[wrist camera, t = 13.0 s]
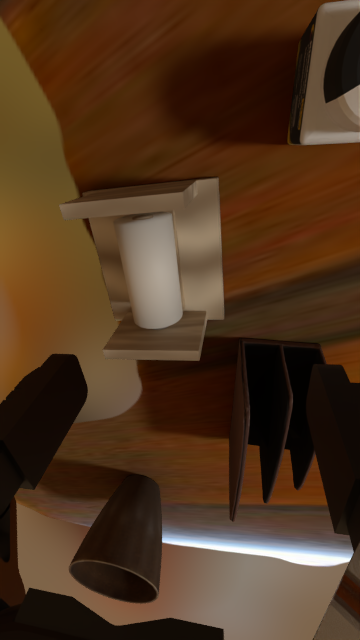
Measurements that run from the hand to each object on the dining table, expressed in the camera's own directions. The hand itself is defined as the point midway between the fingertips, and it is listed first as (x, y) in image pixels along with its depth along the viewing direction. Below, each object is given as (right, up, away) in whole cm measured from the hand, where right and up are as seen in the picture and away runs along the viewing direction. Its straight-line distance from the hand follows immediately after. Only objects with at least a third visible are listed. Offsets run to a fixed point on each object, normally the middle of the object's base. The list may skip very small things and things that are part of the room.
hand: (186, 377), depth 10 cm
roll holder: (-2, +9, +24) cm, 26 cm away
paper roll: (-3, +7, +20) cm, 22 cm away
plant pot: (-8, -32, +50) cm, 60 cm away
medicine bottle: (+13, +21, +14) cm, 28 cm away
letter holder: (+13, -9, +32) cm, 36 cm away
